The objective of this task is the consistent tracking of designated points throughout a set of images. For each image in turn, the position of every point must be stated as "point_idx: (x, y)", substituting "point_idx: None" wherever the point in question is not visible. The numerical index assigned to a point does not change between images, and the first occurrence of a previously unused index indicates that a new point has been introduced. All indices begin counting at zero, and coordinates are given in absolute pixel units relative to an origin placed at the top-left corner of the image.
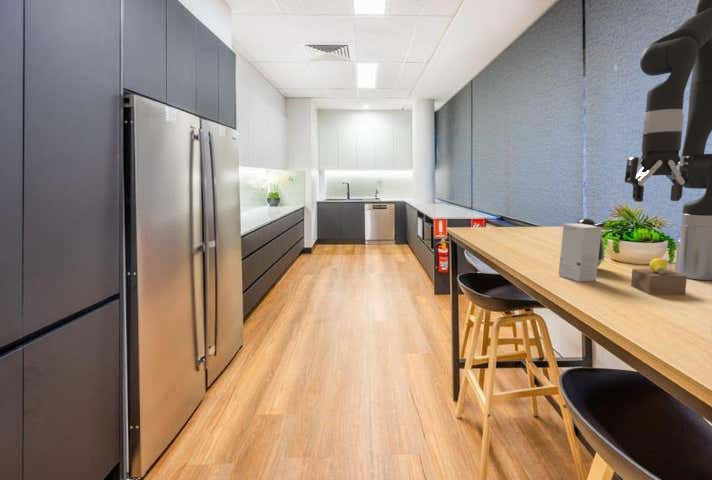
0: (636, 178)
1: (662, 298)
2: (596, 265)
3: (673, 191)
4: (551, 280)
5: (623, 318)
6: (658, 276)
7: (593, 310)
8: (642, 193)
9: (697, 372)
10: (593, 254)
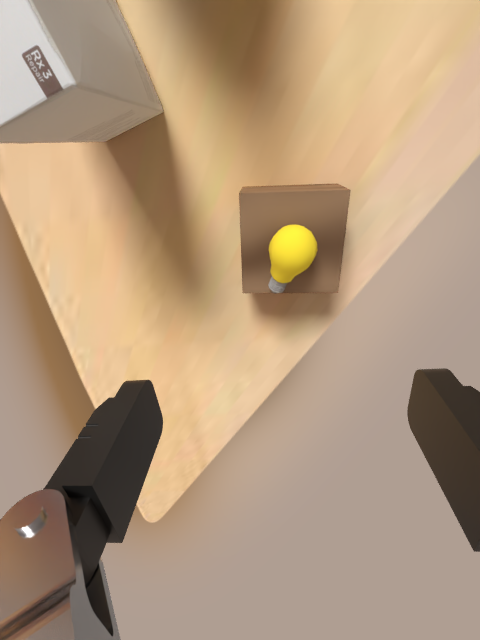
0: (7, 598)
1: (257, 304)
2: (143, 110)
3: (452, 447)
4: None
5: None
6: (263, 292)
7: (100, 380)
8: (139, 475)
9: (154, 518)
10: (108, 118)
